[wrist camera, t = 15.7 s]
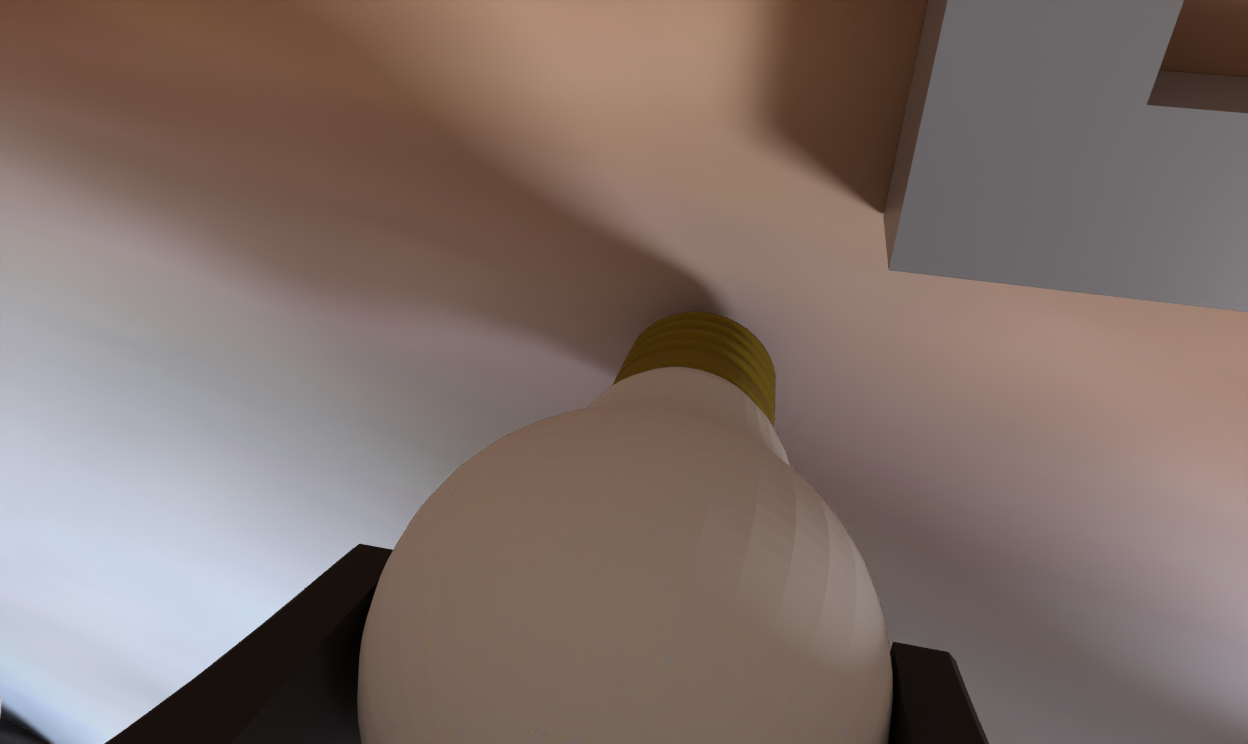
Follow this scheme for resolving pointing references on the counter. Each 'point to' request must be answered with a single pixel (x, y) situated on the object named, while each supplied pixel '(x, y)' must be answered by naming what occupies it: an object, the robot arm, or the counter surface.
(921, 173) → the grey flat frame
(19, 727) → the spread jar
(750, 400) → the light bulb
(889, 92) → the counter surface
